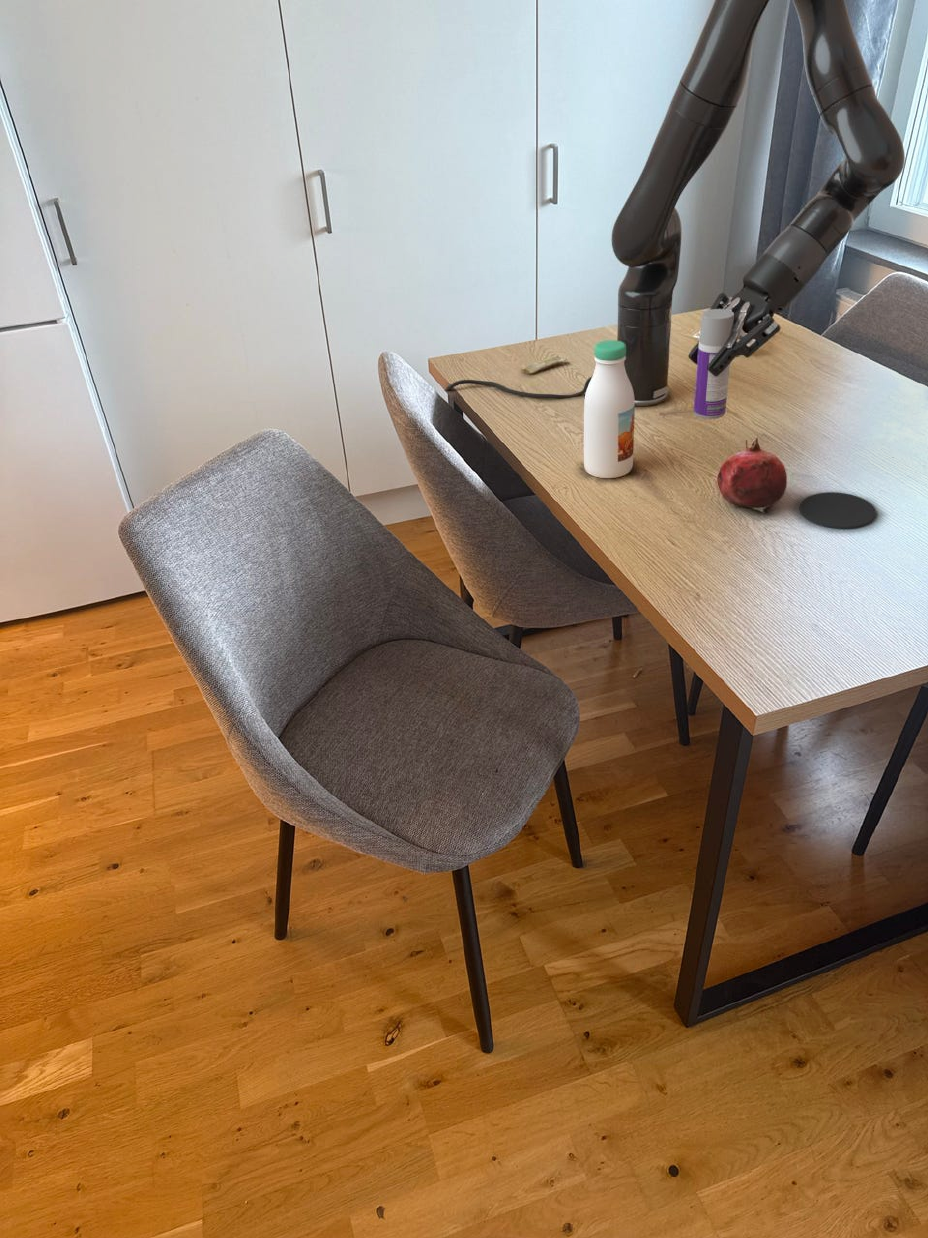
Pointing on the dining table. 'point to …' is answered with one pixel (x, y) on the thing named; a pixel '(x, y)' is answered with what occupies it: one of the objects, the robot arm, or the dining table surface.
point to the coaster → (837, 510)
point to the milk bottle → (609, 414)
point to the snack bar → (543, 364)
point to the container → (711, 342)
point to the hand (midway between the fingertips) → (702, 366)
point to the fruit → (752, 478)
